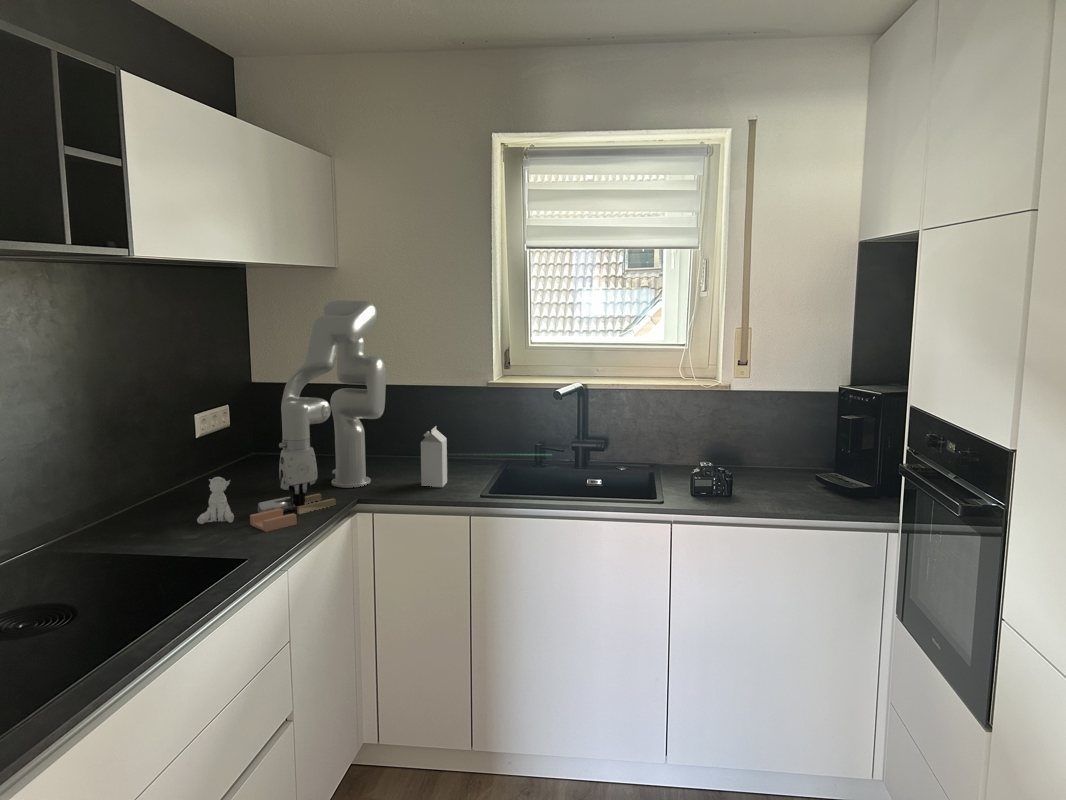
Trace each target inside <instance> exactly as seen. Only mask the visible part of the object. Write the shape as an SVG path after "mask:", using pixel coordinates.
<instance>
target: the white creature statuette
mask: <svg viewBox="0 0 1066 800" xmlns="http://www.w3.org/2000/svg"><path fill="white" fill-rule="evenodd" d="M208 481H209V485H208V487H209V488H210V489H209V491H211V493H210V495H209V498H208V507H207V510H206V511H205V512H203V513H201V514H200V515H199V516H198V518H197V519H196V521H197V523H198V524H201V525H203V524H205V523H206V524H207V523H213V522H228V523H233V521H234V520H235V515H234V513H233V512H232V511H231V508H230V505H229V504H228V503H229V502H228V500H227V496H226V495H225V493H224V492H225V491H226V490H227V487H228V486H229V485H230V482H231V479H229V480H226V479H225V478H223V477H221V476H215V477H213V478H212V479H211V478H209V479H208Z"/></svg>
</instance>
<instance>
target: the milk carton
mask: <svg viewBox="0 0 1066 800" xmlns="http://www.w3.org/2000/svg"><path fill="white" fill-rule="evenodd" d="M423 437H424V439H422V440H421V442H420V475H421V476H420V479H421V480H420V481H421V486H430V487H429V488H443V487H445V485H446V484H447V483H448V456H447V455H448V449H447V447H448V445H447V443H448V442H447V441H448V440H447V437H446V436H445V435H443V434H442V432H440V431H439V430H438V429H437V425H435V426H434V427H433V428H431V429H430V431H429V430H428V431H426V432H425V433H424V434H423ZM431 486H432V487H431Z"/></svg>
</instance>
